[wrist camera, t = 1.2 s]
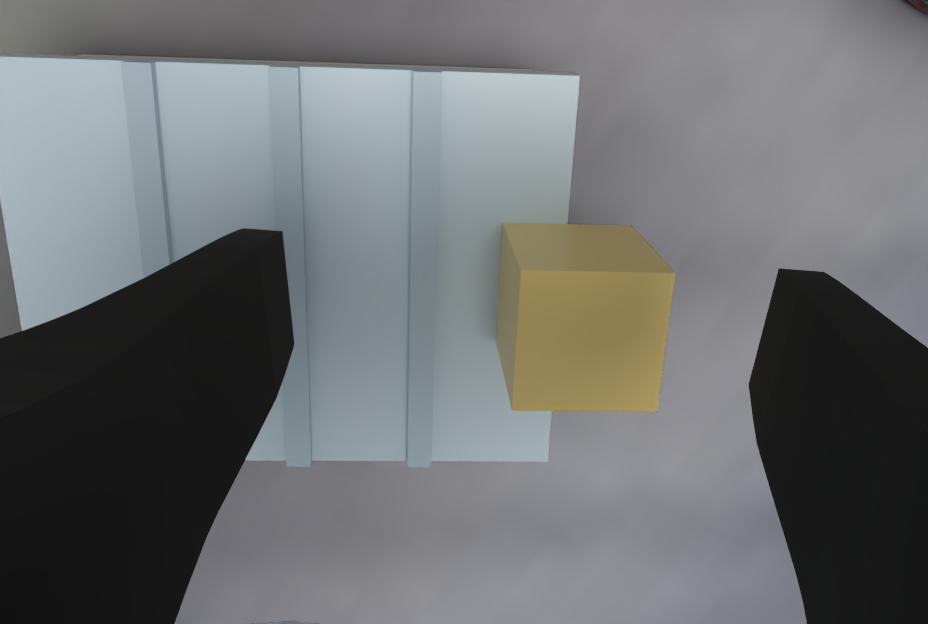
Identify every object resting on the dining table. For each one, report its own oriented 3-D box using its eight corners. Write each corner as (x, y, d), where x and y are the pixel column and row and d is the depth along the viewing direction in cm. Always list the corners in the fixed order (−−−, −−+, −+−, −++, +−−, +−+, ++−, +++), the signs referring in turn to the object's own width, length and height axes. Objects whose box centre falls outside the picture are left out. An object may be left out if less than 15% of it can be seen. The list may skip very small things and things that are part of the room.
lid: (598, 445, 22) (638, 545, 18) (56, 443, 21) (-27, 547, 17) (638, 74, 19) (699, 97, 15) (-6, 53, 18) (-126, 70, 14)
